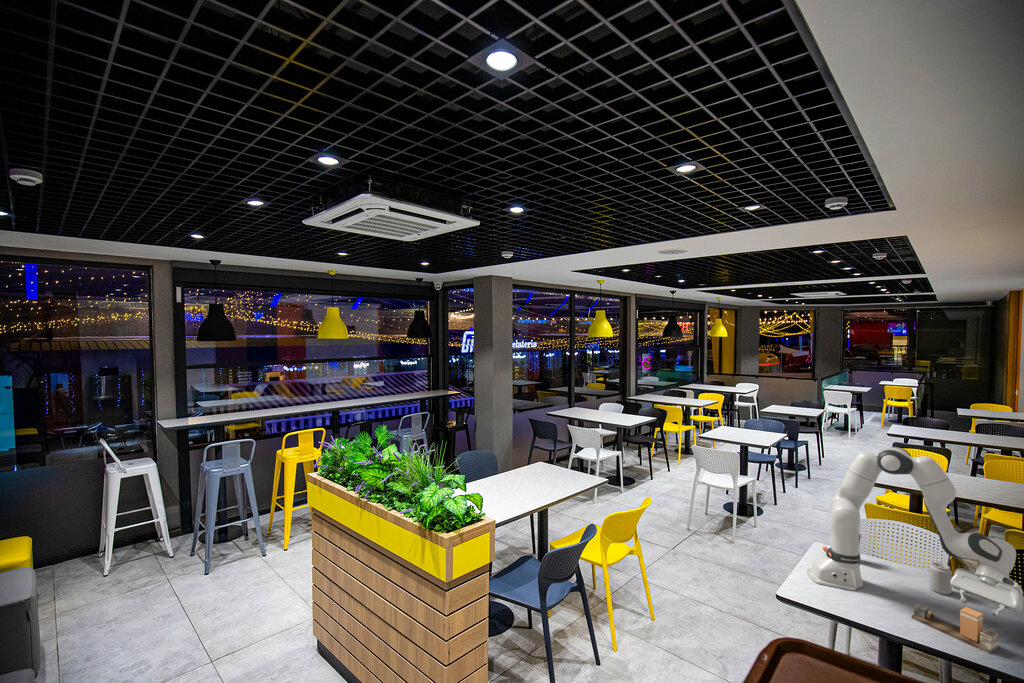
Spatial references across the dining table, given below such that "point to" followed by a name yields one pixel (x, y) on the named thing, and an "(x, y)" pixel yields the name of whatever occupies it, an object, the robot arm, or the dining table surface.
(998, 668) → the dining table surface
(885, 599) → the dining table surface
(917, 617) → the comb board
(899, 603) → the dining table surface
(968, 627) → the orange box
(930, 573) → the can
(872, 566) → the dining table surface
